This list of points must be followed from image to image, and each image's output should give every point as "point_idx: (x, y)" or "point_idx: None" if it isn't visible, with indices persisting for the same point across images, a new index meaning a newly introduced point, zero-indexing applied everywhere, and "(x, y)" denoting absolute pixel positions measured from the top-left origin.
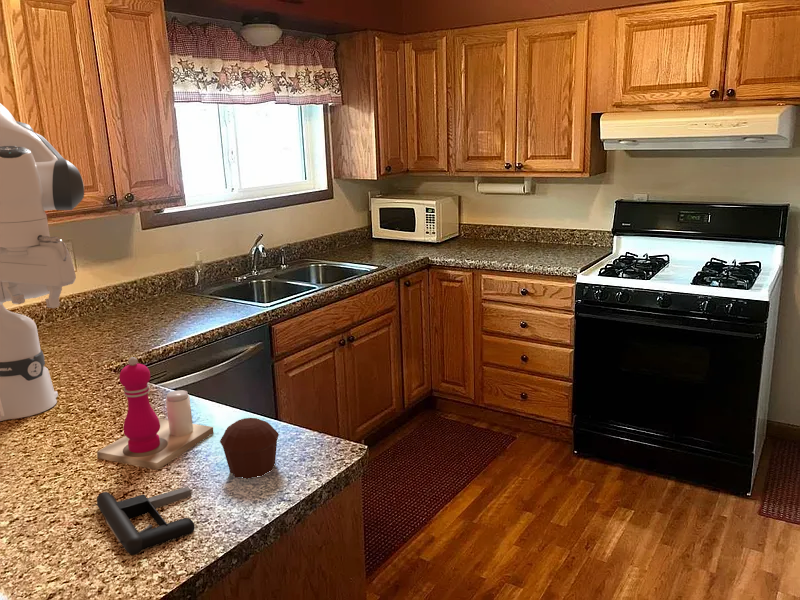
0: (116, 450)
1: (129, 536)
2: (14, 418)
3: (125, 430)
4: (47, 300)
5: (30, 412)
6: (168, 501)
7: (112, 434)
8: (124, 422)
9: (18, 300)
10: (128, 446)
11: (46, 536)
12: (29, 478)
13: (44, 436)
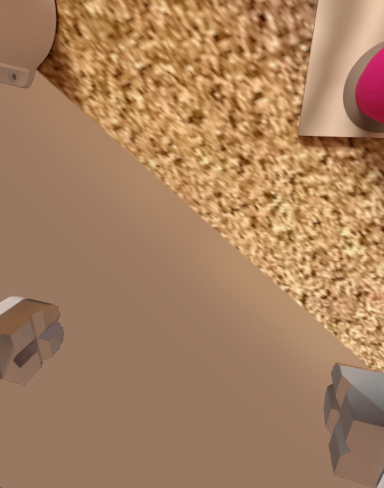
0: (334, 120)
1: None
2: (42, 61)
3: (381, 120)
4: (357, 472)
5: (48, 36)
6: None
7: (256, 41)
8: (377, 109)
9: (46, 349)
10: (363, 112)
11: (373, 320)
12: (238, 215)
13: (144, 97)
